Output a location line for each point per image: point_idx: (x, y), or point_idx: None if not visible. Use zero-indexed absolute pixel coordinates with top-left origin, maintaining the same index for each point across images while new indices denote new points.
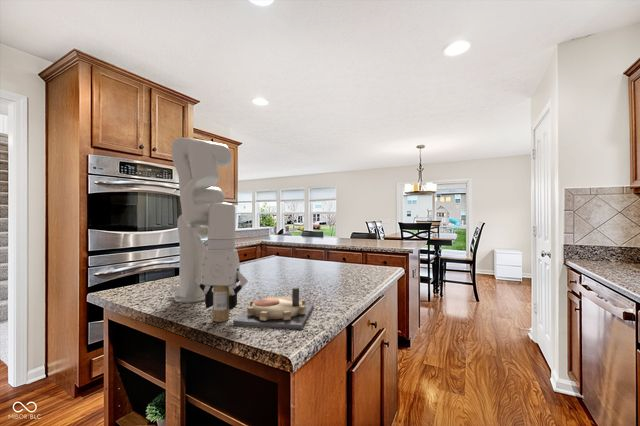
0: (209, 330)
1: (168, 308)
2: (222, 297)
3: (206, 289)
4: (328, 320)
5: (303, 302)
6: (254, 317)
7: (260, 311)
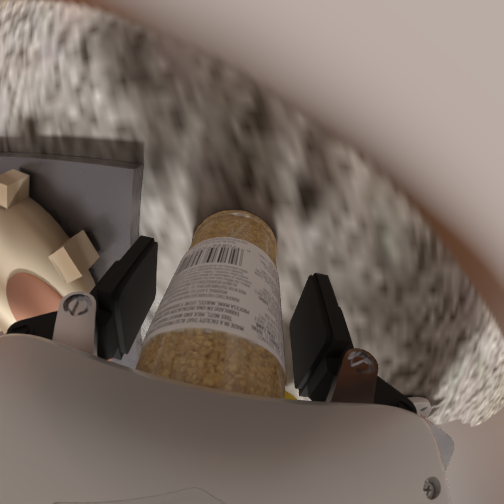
0: (249, 96)
1: (449, 359)
2: (180, 294)
3: (354, 381)
4: None
5: None
6: (62, 217)
7: (16, 212)
